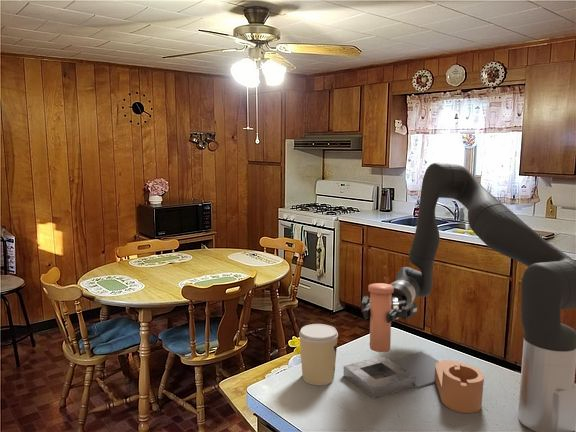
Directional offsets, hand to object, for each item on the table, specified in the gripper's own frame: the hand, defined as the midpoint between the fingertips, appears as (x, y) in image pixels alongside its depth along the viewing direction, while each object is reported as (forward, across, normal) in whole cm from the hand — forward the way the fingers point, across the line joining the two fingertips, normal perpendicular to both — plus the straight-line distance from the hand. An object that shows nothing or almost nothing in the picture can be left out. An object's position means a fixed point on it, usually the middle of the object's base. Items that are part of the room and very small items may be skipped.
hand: (377, 316), depth 105 cm
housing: (-3, 0, +17) cm, 17 cm away
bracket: (-7, +17, +17) cm, 25 cm away
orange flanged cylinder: (-3, 0, +8) cm, 9 cm away
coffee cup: (+3, -14, +17) cm, 22 cm away
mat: (-13, +7, +17) cm, 23 cm away
